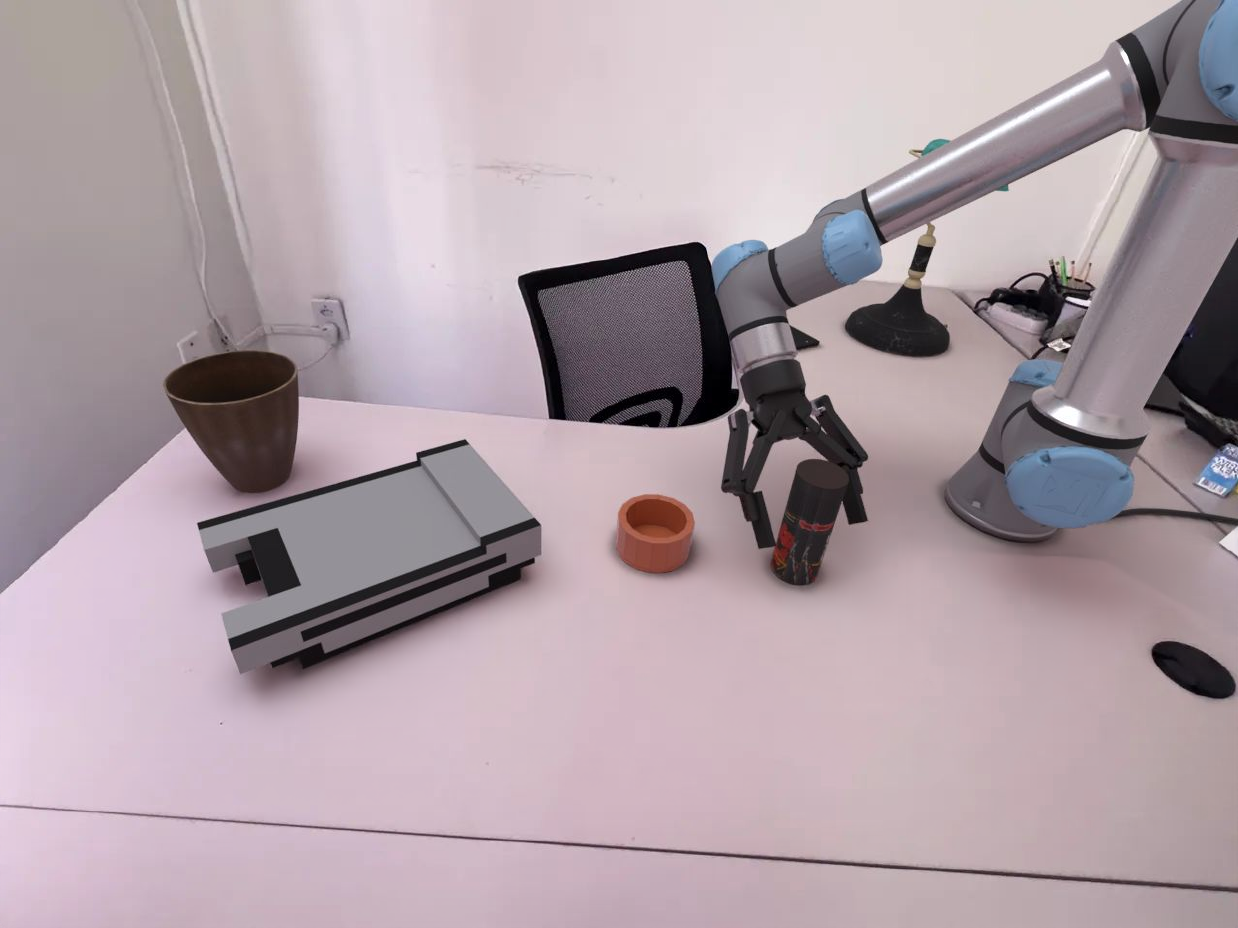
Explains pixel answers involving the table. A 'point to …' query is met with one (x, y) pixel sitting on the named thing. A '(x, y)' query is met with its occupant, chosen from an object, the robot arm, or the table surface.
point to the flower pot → (240, 414)
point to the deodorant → (808, 520)
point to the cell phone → (803, 339)
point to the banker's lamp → (905, 306)
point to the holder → (654, 533)
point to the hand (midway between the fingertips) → (814, 535)
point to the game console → (369, 555)
